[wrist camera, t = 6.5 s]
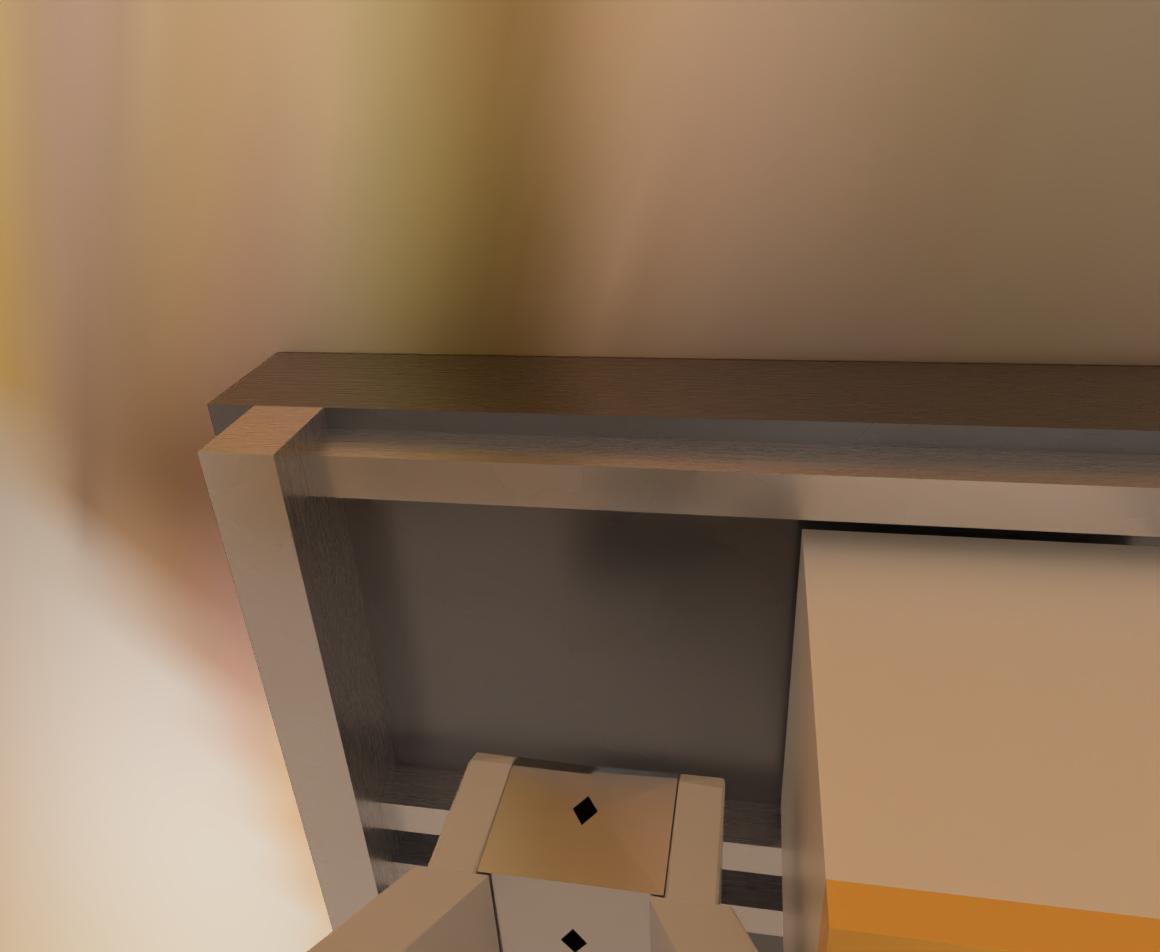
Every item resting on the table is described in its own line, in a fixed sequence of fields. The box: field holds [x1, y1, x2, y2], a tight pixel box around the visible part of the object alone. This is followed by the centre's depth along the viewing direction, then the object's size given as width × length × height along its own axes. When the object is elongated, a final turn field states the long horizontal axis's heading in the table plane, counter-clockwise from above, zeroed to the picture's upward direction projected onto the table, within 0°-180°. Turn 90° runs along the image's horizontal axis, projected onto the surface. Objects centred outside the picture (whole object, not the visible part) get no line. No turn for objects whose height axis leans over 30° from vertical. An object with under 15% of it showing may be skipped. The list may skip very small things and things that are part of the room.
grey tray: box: [197, 353, 1160, 952], centre depth 14 cm, size 22×15×3 cm
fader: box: [781, 529, 1160, 952], centre depth 9 cm, size 4×5×5 cm
